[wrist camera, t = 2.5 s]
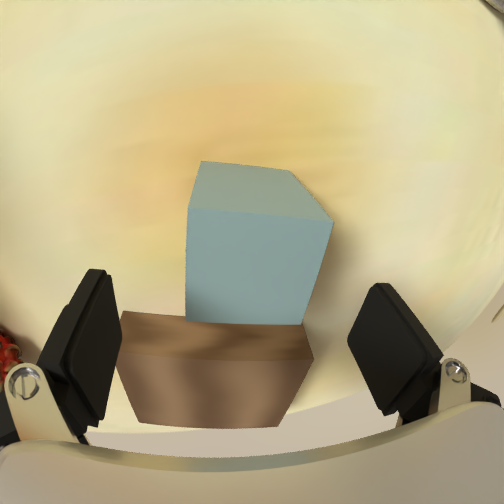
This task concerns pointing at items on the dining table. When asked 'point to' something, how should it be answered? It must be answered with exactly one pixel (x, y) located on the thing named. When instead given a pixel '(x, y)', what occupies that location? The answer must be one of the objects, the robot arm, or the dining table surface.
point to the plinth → (210, 371)
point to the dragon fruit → (8, 358)
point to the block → (252, 246)
